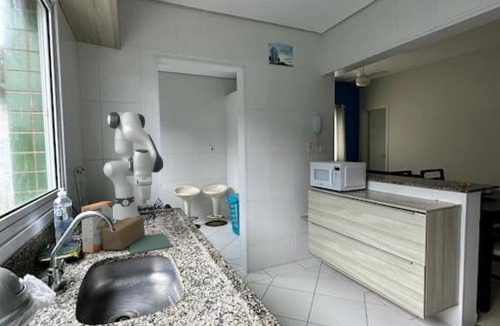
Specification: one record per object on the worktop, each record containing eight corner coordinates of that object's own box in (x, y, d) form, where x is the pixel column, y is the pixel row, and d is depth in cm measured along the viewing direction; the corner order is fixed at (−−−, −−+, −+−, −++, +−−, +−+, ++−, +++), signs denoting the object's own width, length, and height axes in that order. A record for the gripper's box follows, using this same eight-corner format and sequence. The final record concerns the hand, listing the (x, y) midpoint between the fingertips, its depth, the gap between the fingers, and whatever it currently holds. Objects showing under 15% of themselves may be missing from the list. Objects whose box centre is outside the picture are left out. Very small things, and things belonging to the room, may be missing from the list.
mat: (126, 239, 135) (126, 238, 135) (163, 233, 144) (162, 232, 144) (130, 254, 116) (130, 253, 116) (172, 246, 125) (172, 245, 125)
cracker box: (94, 253, 118) (92, 207, 116) (82, 252, 118) (80, 206, 117) (115, 242, 131) (113, 201, 130) (104, 242, 132) (102, 200, 131)
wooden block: (145, 234, 139) (122, 250, 119) (128, 235, 140) (102, 250, 121) (143, 216, 138) (120, 229, 119) (126, 216, 140) (99, 229, 120)
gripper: (134, 178, 147) (135, 203, 148) (139, 182, 129) (140, 210, 130) (146, 177, 150) (147, 201, 151) (152, 181, 133) (153, 208, 133)
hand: (143, 205), depth 140 cm, fingers closed
